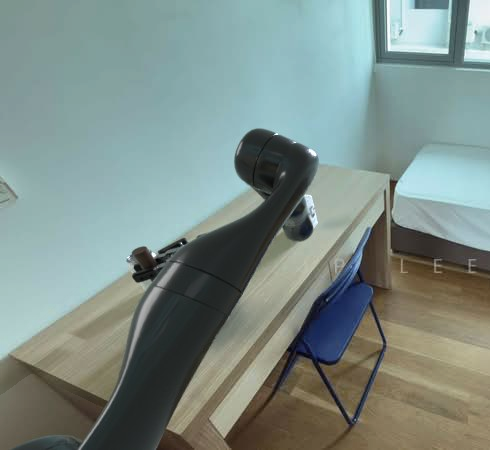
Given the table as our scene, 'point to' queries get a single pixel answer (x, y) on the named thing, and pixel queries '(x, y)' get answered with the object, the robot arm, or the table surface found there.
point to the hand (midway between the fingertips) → (135, 273)
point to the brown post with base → (144, 258)
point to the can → (131, 263)
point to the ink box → (311, 209)
